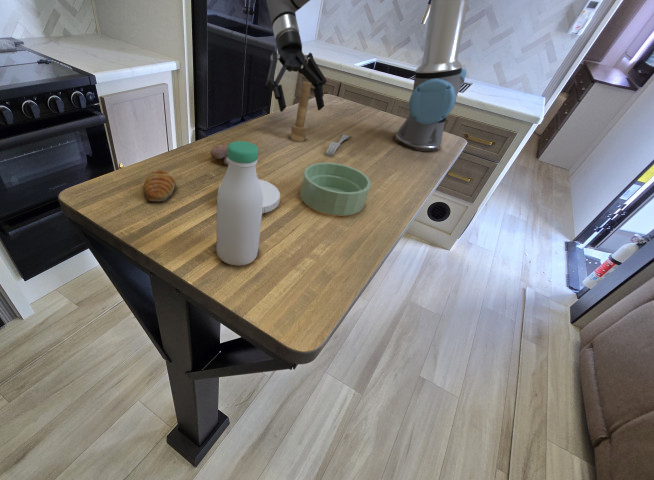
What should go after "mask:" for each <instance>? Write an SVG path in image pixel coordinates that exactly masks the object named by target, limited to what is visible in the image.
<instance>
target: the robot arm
mask: <svg viewBox="0 0 654 480" xmlns="http://www.w3.org/2000/svg"><path fill="white" fill-rule="evenodd" d="M310 1H311V0H266V7H267V10H268V13H269V17H270V21H271V22H270V23H271V27H272V31H273V36H274V40H275V47H276V50H277V51H276V50H274V51H272V52H271V53H272V54H271V55H270V57H269V62H270V65H269V70H268V74H267V78H266V83H265V86H266V88H270V91H272V92H273V96H274V99H275V100H277V104H278V107H279V112H280V113H282V112H284V110H286V108H287V103H286V100H285V95H284V91H283V85H282V84H280V82H281V80H282V78H283V77H284V75H285V72H286V71H288V72H295V73H296V72H298V73H299V74H302V76H304V77H305V79H306V80H307V82H310V83H311V86H312V87H314V89H313V94H314V98H315V103H316V108H317V111H321V110H322V109H323V108H324V107H325V102H324V96H325V95H324V89H323V87H324V86H325V84H327V82H328V81H327V79H326V77H325V75H324V73H323V72H322V71H321V70H322V69H320V67H319V65H318V64H317V62H316V61H315V59H314V58H315V57H314V56H313V53H312V52H309V53H308V54H304V52H303V43H302V39H301V34H300V29H299V25H298V20H297V14H296V13H297V12H298V11H299V10H300V9H302V7H304V6H305V5H307V4H308V3H309V2H310ZM468 5H469V0H430V6H429V12H428V21H427V27H426V35H425V41H424V48H423V57H422V62H421V63H420V65H419V66H418V67H417V68H416V69H415V73H414V80H413V86H412V87H413V88H412V93H411V95H410V97H409V101H408V111H409V114H408V116H407V117H406V120H404V122H403V123H402V125H401V126H400V128H399V129H398V130H397V132H396V134H395V137H394V139H395V141H396V143H398V144H400V145H401V146H403V147H406V148H409V149H411V150H414V151H420V152H431V153H432V152H436V151H438V150H440V147H441V145H442V141H443V134H444V127H445V123H446V121H447V118H448V116H449V115H450V113H451V112H452V111H453V109H454V107H455V105H456V101H457V97H458V94H459V92H460V90H461V87H462V86H463V84H464V82H465V79H466V76H467V70H466V69H465V68H463V65H462V63H461V62H460V61H459V59H458V58H459V54H460V53H459V52H460V48H461V42H462V37H463V31H464V27H465V22H466V16H467V11H468ZM278 62H279V63H280V64H281V65H282V67H281V68H280V70H279V72H278V74H277V76H276V78H275V79H274V77H275V73H276V68H277V65H278Z"/></svg>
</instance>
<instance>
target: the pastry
mask: <svg viewBox="0 0 654 480" xmlns="http://www.w3.org/2000/svg"><path fill="white" fill-rule="evenodd" d="M176 183H177V181H176V179H175V178H174V177H173V175H171V173H170V172H169V171H167V170H165V169H157V170H155V171H151V172H150V173H149V174H148V177H146V178H145V180H144V184H143V190H144V192H145V193H144V194H145V197H146V198H147V200H148V201H149V202H164V201H167V200H168V198H169V197H170V198H171V196H172V195H173V192H174V190H175V186H176Z"/></svg>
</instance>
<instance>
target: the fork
mask: <svg viewBox="0 0 654 480" xmlns="http://www.w3.org/2000/svg"><path fill="white" fill-rule="evenodd" d="M349 138H351V136H350V135H347V134H342V135H341V137H340V139H339V140H338V142H334V141H331V142H330V144H329V146H328V149H327V151H326V153H325V155H327V156H330V157H333V155H334V154H335V152H336V150H337V149H338V147H339V146H340V145H341V144H342V143H343V142H344V141H346V140H347V139H349Z"/></svg>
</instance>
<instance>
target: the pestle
mask: <svg viewBox="0 0 654 480" xmlns="http://www.w3.org/2000/svg"><path fill="white" fill-rule="evenodd" d="M311 89H312V84H311V83H310V82H309V81H305V80H304V81H303V80H302V82H301V87H300V93H299V99H298V106H297V113H296V119H295V122H294V123H292V125H291V130H290V131H291V132H290V137H289V138H290V140H292V141H294V142H304V141H305V140H306V136H307V130H308V126H307V125H306V124H305V123H306V117H307V111H308V106H309V100H310V94H311Z"/></svg>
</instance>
